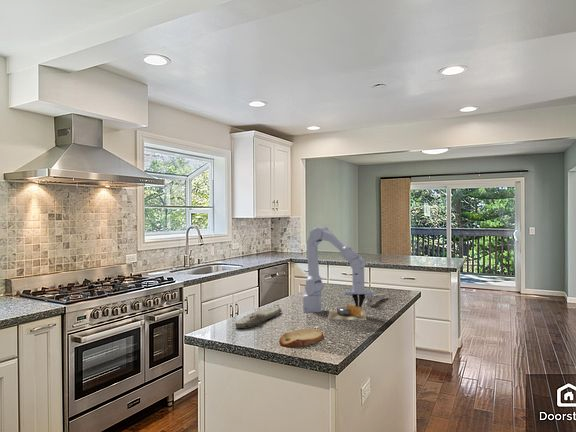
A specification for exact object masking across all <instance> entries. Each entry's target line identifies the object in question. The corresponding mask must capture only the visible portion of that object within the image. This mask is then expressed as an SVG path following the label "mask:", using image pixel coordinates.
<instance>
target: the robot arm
mask: <svg viewBox="0 0 576 432" xmlns="http://www.w3.org/2000/svg"><path fill="white" fill-rule="evenodd" d="M322 241H327V242H329V243H330V244H331V245H333V246H334V247H335V249H337V250H338V251H340V253H339V254H340V256H341V257H343V259H345V261H347V263H349V266H350V268H351V270H352V272H351V273H352V274H351V275H352V277H351V279H352V282H351V283H352V285H351V286H352V289H351V290H343V292H342V293H343V296H352V298H353V301H354V303H355V304H354V305H355V306H360V307H361V308H362V306H363V304H364V302H365V300H366V298H365V295H372V296H374V295H375V291H374V290H366V289H365V267H366V265H367V262H366V259H365V258H364V257H363V256H360V254H359V253H356V252H355V251H354V250H353V247H352V246H349V245H348V246H346V245H345V244H343V242H341V241H340V240H339V239H338V237H337V236H336V235H335V234H334V233H333V232H332V230H330V229H329V228H328V227H327V226H320V227H316V226H315V227H313V228H312V229H311V230H310V231H309V235H308V238H307V241H306V250H307V270H308V271H307V272H308V276H307V277H306V280H305V285H304V291H305V293H304V294H303V296H302V309H303V311H302V313H305V314H307V313H319V312H323V311H324V310H323V308H322V291H323V290H324V284H323V282H322V281H323V280H322V277H321V276H320V268H319V266H320V265H319V252H318V248H319V247H318V245H319V244H320V243H322Z"/></svg>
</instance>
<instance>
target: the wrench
mask: <svg viewBox="0 0 576 432" xmlns="http://www.w3.org/2000/svg"><path fill="white" fill-rule="evenodd" d="M387 297H388V295H387V293H379V294H374V296H372V295H365V300H364V301H363V304H364V305H366V306H367V307H370V306H371V304H372V303H373V302H374V301H380V300H386V299H387ZM385 298H386V299H385Z"/></svg>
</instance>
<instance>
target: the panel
mask: <svg viewBox="0 0 576 432" xmlns="http://www.w3.org/2000/svg"><path fill="white" fill-rule="evenodd" d="M353 318H357V319H358V320H357V321H367V315H366V310H361V316H360V317H358V316H354V315H348V316H343V315H338V314H337V309H330V310H329V312H328V316H327V320H340V321H341V320H344V321H345V320H347V321H349V320H350V321H356V320H355V319H353Z"/></svg>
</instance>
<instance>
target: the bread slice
mask: <svg viewBox="0 0 576 432" xmlns="http://www.w3.org/2000/svg"><path fill="white" fill-rule="evenodd" d="M323 339H324V334H323V331H321V330H319V329H317V328H313V327H312V328H303V329H297V330H292V331H288V332H285V333H283V334H282V335H281V336H280V338H279V340H278V341H279V342H278V343H279V345H280V347H283V348H300V347H302V346H303V347H307V345H308V346H310V345H311V344H312V345H315V344H317V343H318V342H321V341H322V340H323Z"/></svg>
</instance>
